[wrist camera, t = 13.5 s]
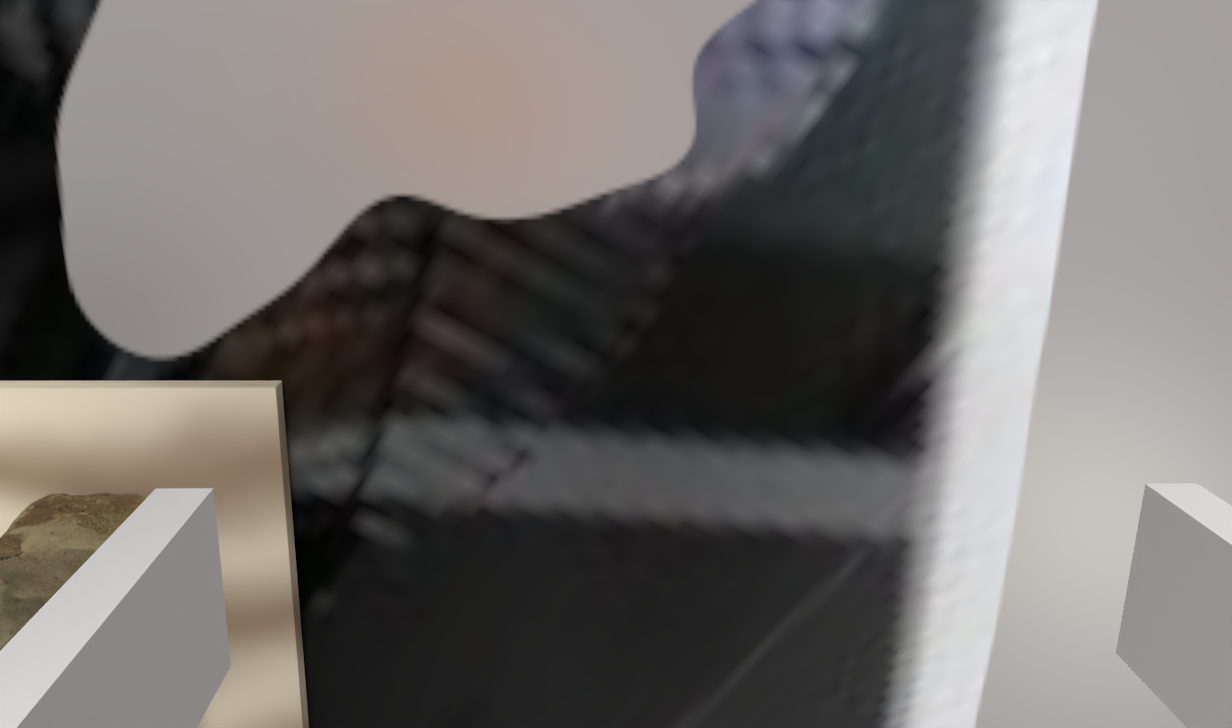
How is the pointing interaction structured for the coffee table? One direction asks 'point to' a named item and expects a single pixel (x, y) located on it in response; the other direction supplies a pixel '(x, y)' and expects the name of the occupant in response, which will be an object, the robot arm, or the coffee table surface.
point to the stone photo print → (182, 458)
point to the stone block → (52, 549)
